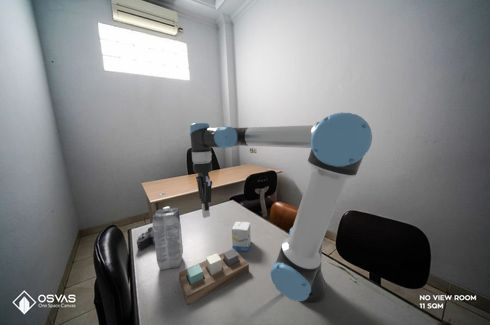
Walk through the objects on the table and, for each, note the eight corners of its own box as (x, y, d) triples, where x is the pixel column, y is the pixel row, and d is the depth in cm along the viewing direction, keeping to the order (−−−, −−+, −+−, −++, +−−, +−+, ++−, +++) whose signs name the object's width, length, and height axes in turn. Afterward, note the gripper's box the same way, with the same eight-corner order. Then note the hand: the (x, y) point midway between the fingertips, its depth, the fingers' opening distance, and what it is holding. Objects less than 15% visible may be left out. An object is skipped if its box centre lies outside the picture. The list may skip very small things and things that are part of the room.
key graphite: (238, 265, 76) (238, 255, 75) (229, 270, 74) (228, 259, 73) (233, 259, 80) (233, 249, 79) (224, 263, 78) (223, 253, 77)
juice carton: (181, 268, 78) (176, 211, 74) (156, 272, 76) (149, 214, 72) (184, 255, 86) (179, 203, 82) (162, 258, 84) (155, 206, 80)
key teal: (203, 282, 68) (202, 271, 67) (191, 288, 65) (190, 277, 64) (199, 274, 72) (198, 263, 71) (188, 280, 69) (187, 269, 68)
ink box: (248, 251, 87) (247, 230, 86) (232, 250, 89) (231, 229, 87) (251, 241, 96) (250, 221, 94) (236, 240, 97) (235, 220, 96)
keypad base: (248, 271, 74) (248, 264, 74) (187, 304, 61) (186, 296, 60) (234, 254, 85) (233, 248, 85) (179, 279, 71) (178, 272, 71)
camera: (146, 255, 87) (144, 237, 86) (135, 251, 91) (133, 233, 89) (170, 238, 102) (169, 222, 100) (160, 235, 105) (158, 220, 103)
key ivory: (222, 270, 72) (221, 259, 71) (211, 275, 69) (210, 264, 68) (217, 263, 76) (216, 253, 75) (206, 268, 73) (206, 257, 72)
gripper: (217, 162, 67) (220, 219, 70) (205, 159, 78) (209, 209, 81) (198, 165, 63) (202, 225, 66) (188, 161, 74) (193, 213, 77)
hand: (206, 216), depth 74 cm, fingers closed
